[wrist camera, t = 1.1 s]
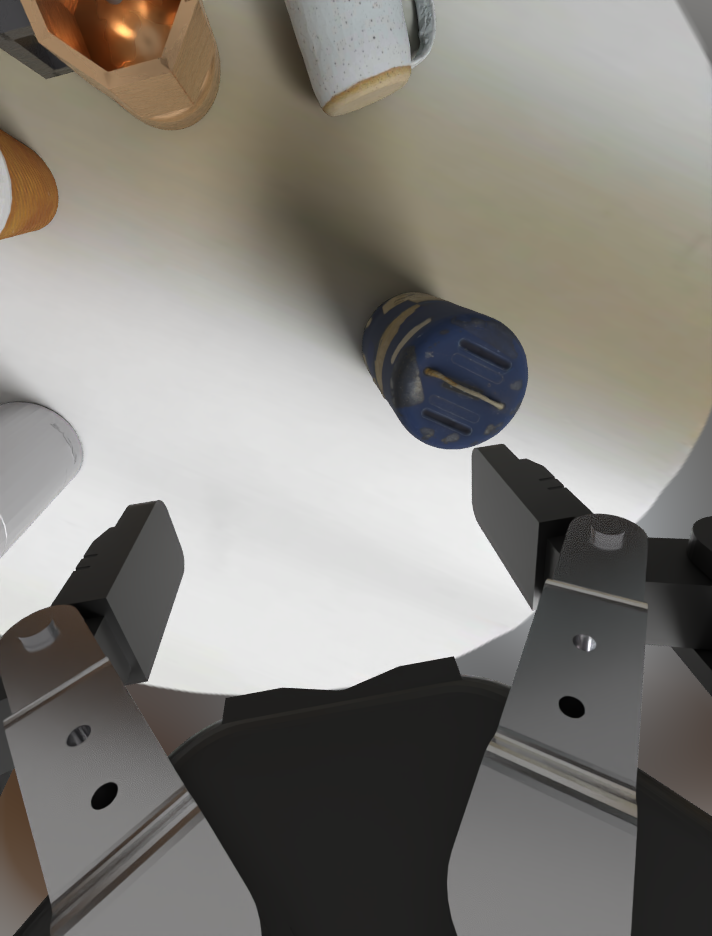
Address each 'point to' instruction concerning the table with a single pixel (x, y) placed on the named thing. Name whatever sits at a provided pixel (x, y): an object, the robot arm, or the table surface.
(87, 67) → the wooden pitcher
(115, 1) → the plunger
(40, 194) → the disposable coffee cup
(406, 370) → the canister
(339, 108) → the ceramic mug
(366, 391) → the table surface
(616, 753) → the robot arm
